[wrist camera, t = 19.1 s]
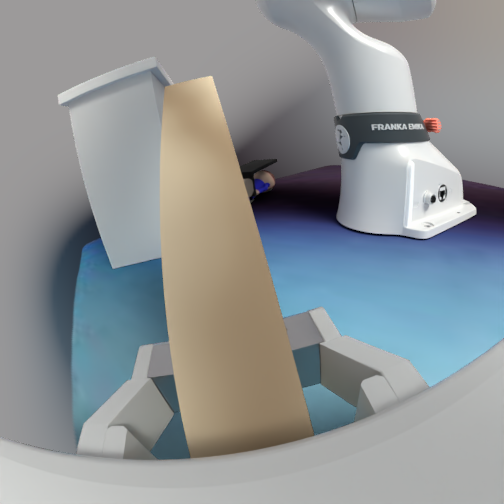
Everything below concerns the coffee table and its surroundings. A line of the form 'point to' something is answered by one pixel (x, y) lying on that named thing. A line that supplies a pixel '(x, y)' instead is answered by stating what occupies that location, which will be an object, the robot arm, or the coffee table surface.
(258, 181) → the figurine character
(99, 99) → the pedestal
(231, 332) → the beech bar
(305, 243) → the coffee table surface
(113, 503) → the robot arm
